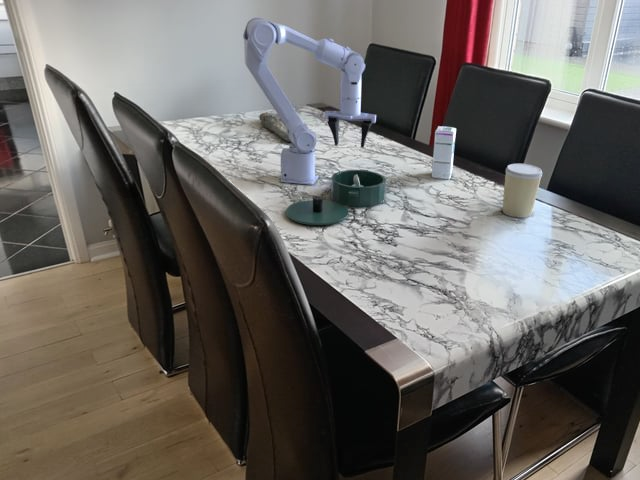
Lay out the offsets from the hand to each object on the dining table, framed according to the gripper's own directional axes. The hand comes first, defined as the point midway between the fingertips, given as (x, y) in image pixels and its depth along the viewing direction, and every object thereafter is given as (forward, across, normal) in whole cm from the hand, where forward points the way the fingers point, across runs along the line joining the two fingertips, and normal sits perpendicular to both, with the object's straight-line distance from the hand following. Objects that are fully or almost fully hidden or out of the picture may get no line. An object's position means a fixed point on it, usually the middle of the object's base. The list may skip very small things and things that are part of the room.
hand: (349, 145), depth 168 cm
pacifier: (+9, +6, -17) cm, 20 cm away
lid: (+9, -2, -31) cm, 33 cm away
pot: (+9, +6, -16) cm, 20 cm away
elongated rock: (+10, -33, +43) cm, 55 cm away
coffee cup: (+10, +49, -16) cm, 52 cm away
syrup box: (+10, +27, +9) cm, 30 cm away
